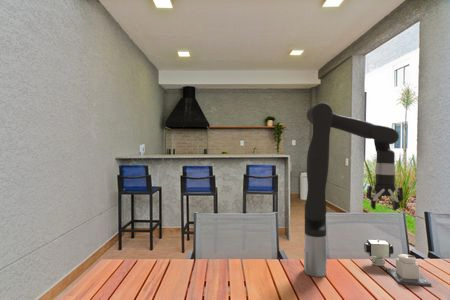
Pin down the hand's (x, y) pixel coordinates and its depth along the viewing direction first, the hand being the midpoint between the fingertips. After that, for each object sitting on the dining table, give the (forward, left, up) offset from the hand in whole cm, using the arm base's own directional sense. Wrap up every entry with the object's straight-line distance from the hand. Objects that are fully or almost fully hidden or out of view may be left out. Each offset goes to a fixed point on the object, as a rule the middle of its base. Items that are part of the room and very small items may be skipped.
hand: (384, 209), depth 124 cm
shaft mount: (+8, -4, -28) cm, 29 cm away
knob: (+8, -4, -27) cm, 28 cm away
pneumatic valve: (+1, +9, -28) cm, 30 cm away
